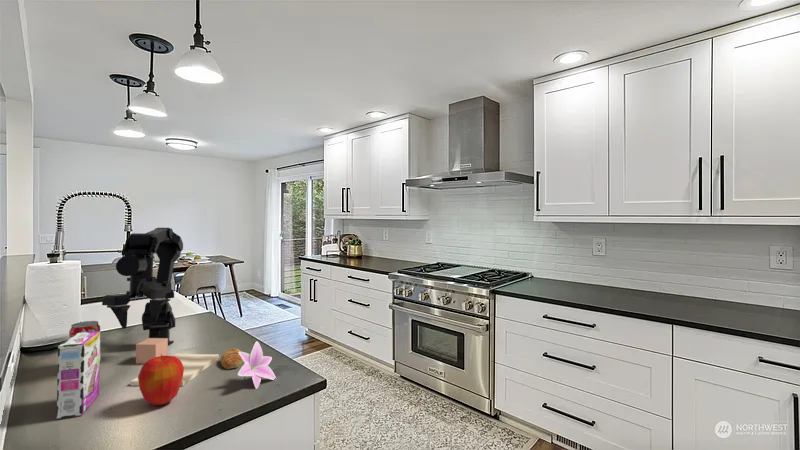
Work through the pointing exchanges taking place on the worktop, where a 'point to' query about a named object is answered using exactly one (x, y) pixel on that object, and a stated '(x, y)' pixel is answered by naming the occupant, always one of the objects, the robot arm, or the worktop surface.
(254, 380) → the lily
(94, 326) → the soda can
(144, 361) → the terracotta cube
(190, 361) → the birch board
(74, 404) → the candy bar box
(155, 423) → the worktop surface
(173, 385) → the apple
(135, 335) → the worktop surface
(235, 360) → the pastry
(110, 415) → the worktop surface
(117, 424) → the worktop surface
